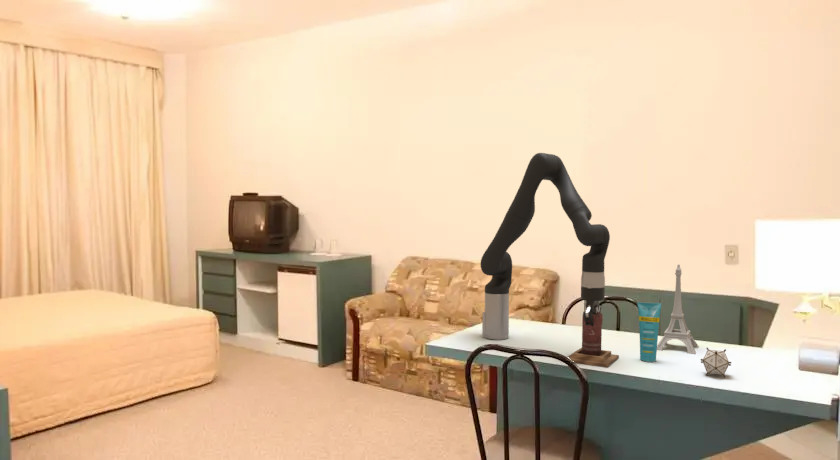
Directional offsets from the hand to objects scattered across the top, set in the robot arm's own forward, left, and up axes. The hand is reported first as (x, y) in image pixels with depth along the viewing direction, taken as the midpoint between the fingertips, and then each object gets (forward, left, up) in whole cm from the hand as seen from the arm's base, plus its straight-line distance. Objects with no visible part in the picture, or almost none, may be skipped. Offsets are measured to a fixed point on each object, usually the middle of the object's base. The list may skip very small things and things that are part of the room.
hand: (591, 337), depth 208 cm
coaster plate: (0, 0, -7) cm, 7 cm away
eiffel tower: (+21, +33, -8) cm, 40 cm away
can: (0, 0, -6) cm, 6 cm away
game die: (+37, +1, -8) cm, 38 cm away
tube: (+16, +9, -8) cm, 20 cm away
